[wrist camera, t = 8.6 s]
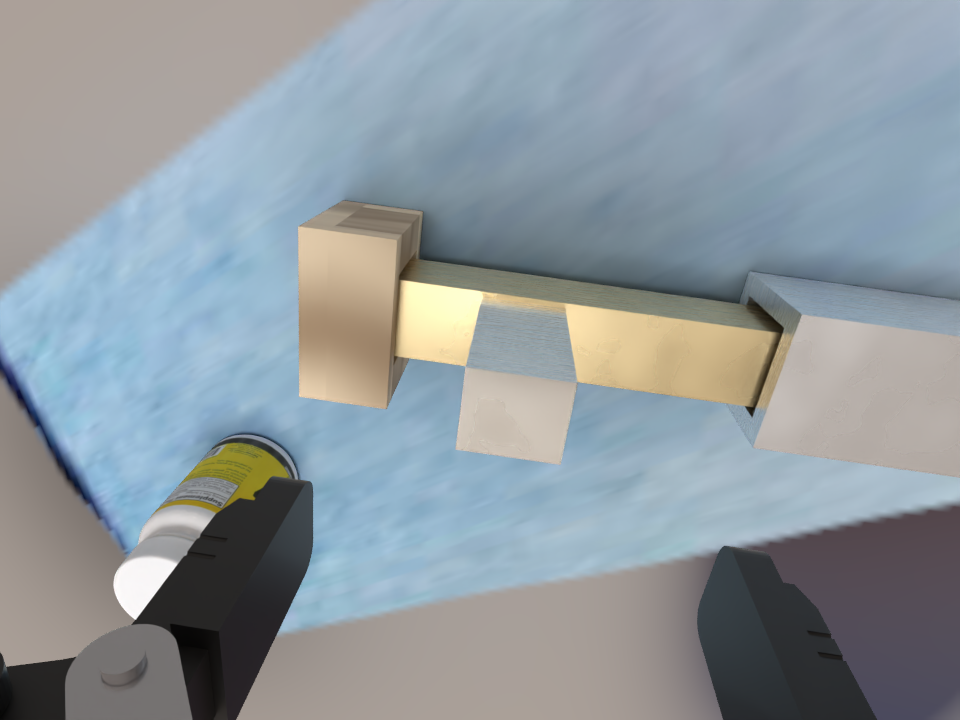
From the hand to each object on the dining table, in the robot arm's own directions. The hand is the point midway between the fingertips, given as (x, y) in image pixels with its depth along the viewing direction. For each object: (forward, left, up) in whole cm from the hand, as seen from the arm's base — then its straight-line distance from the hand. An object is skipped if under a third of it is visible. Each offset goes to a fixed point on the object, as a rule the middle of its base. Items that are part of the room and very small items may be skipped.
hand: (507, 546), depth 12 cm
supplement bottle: (+11, -12, -15) cm, 22 cm away
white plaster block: (0, +14, -15) cm, 21 cm away
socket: (0, -6, -15) cm, 16 cm away
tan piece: (0, +2, -14) cm, 14 cm away
